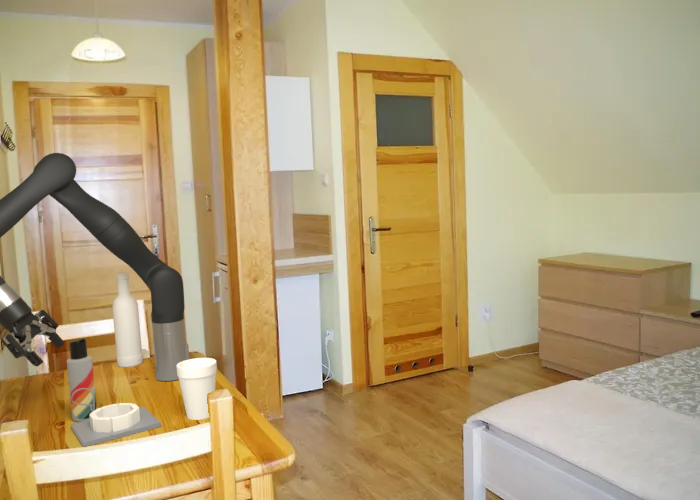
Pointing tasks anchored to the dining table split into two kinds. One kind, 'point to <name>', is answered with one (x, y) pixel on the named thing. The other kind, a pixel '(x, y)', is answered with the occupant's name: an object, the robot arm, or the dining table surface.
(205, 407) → the foam cup
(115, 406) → the socket
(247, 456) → the dining table surface
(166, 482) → the dining table surface
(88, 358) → the lotion bottle
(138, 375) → the dining table surface
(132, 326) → the bottle
